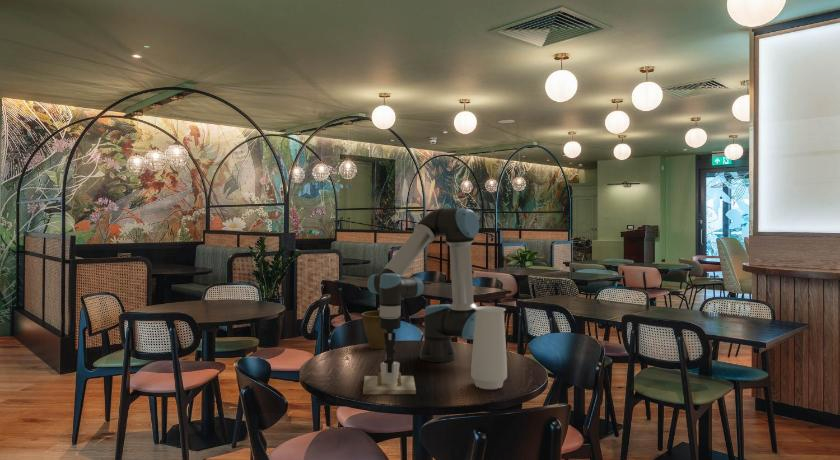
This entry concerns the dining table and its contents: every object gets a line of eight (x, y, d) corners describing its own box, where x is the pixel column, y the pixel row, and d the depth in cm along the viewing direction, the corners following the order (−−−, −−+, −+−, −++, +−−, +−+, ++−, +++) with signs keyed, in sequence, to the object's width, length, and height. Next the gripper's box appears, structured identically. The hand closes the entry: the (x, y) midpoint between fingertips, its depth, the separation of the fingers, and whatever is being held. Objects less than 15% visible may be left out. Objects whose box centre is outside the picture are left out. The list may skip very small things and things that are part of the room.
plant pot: (365, 343, 284) (366, 310, 284) (396, 344, 282) (396, 311, 282) (358, 350, 269) (358, 315, 269) (390, 351, 267) (390, 316, 267)
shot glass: (402, 381, 214) (402, 361, 214) (395, 386, 208) (395, 366, 208) (384, 379, 217) (384, 359, 216) (377, 383, 210) (377, 364, 210)
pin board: (413, 379, 222) (413, 369, 222) (415, 394, 204) (415, 382, 204) (364, 379, 221) (364, 369, 221) (362, 394, 203) (363, 382, 203)
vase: (497, 392, 206) (498, 312, 206) (464, 386, 213) (465, 309, 213) (512, 384, 217) (513, 307, 217) (480, 378, 224) (481, 304, 224)
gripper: (379, 311, 224) (379, 367, 224) (379, 323, 199) (378, 386, 199) (399, 311, 224) (399, 367, 225) (401, 323, 199) (400, 386, 200)
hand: (389, 376), depth 212 cm, fingers open, 13 cm apart
